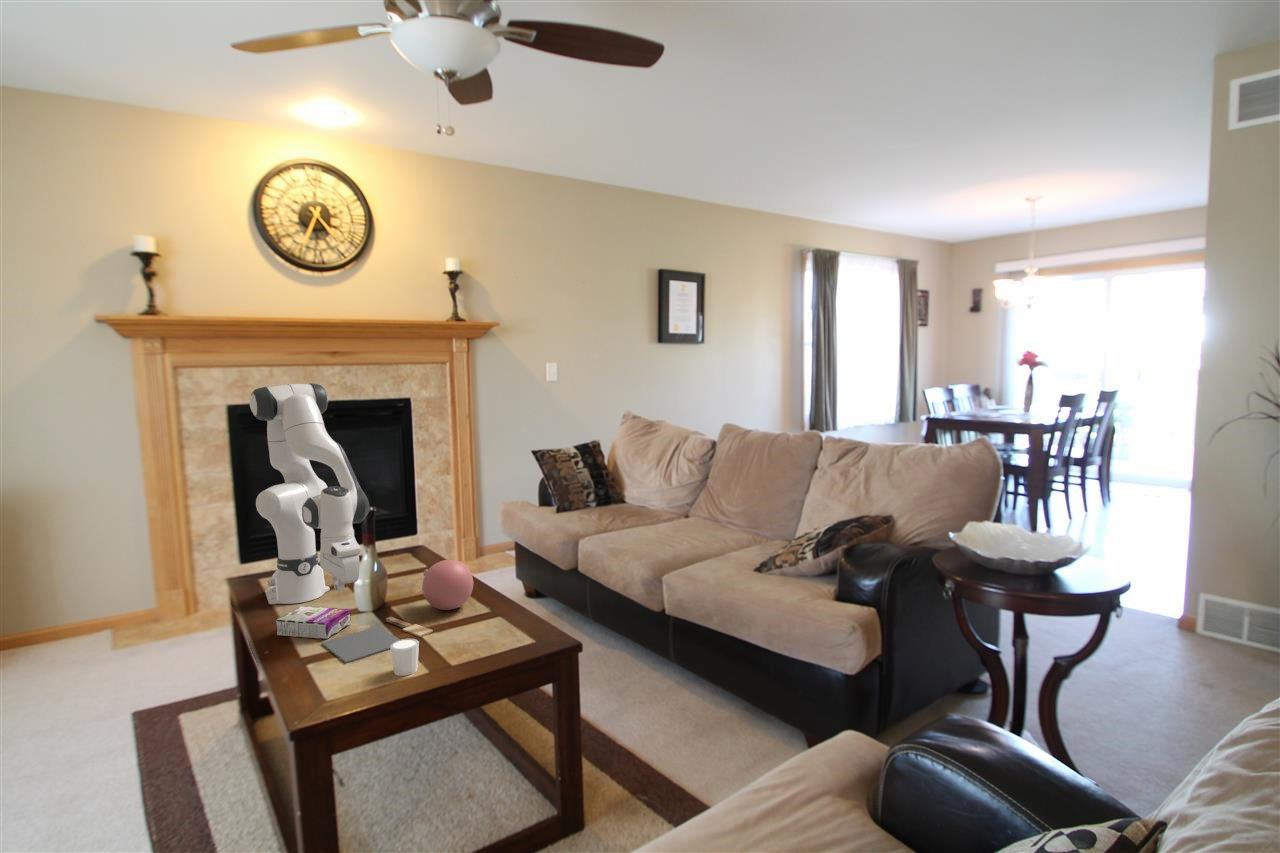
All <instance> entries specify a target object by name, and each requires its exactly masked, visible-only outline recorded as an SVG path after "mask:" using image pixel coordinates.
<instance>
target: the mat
mask: <svg viewBox="0 0 1280 853" xmlns="http://www.w3.org/2000/svg"><path fill="white" fill-rule="evenodd" d="M399 640H401V639H400V638H398V637H397V636H396V635H394V634H392V633H391V632H389V631H387V630H386V629H384V628H382V627H381V626H379V625H378V626H374V627H370V628H367V629H363V630H360V631H356V632H353V633H350V634H347V635H343V636H340V637H336V638H334V639H330V640H326V641H322V642H321V646H323V647H324V648H325V649H327V650H328V651H329V652H331V653H332V654H333V655H334V656H336V657H337V658H338V659H340V660H341V661H342V662H343V663H345V664H349V663H353V662H355V661H359V660H362V659H365V658H367V657H370V656H371V657H372V656H374V655H377V654H379V653H383V652H386V651H389V650H390V651H391V649H390V646H391V644H392V643H394V642H396V641H399Z"/></svg>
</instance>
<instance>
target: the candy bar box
mask: <svg viewBox="0 0 1280 853" xmlns="http://www.w3.org/2000/svg"><path fill="white" fill-rule="evenodd" d="M351 623H352V618H351V609H350V608H337V607H335V608H333V607H321V606H320V607H319V606H307V605H306V606H304V605H300V606H299V607H297V608H295V609H294V610H292V611H290V612H288V613H286V614H284V615H283V616H280V617H279V618H277V619H276V620H275V624H276V626H275V627H276V635H277V636H283V637H285V636H286V637H293V638H308V639H322V640H327V639H330V638H331V637H333V636H334V635H336V634H337V633H339V632H340V631H342V630H343V629H345V628H346V627H349V626H350V625H351Z"/></svg>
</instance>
